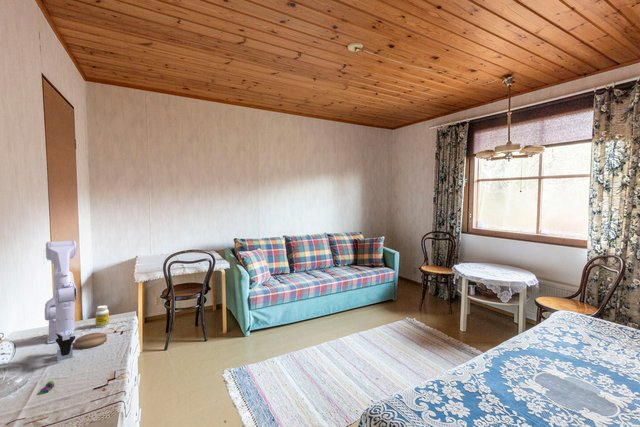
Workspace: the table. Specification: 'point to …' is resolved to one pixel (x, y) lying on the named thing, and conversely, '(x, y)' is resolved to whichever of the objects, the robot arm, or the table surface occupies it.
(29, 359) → the table surface
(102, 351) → the table surface
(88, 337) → the walnut bowl
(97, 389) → the table surface
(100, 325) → the supplement bottle
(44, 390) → the green pink pointed oval
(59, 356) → the blue cube
